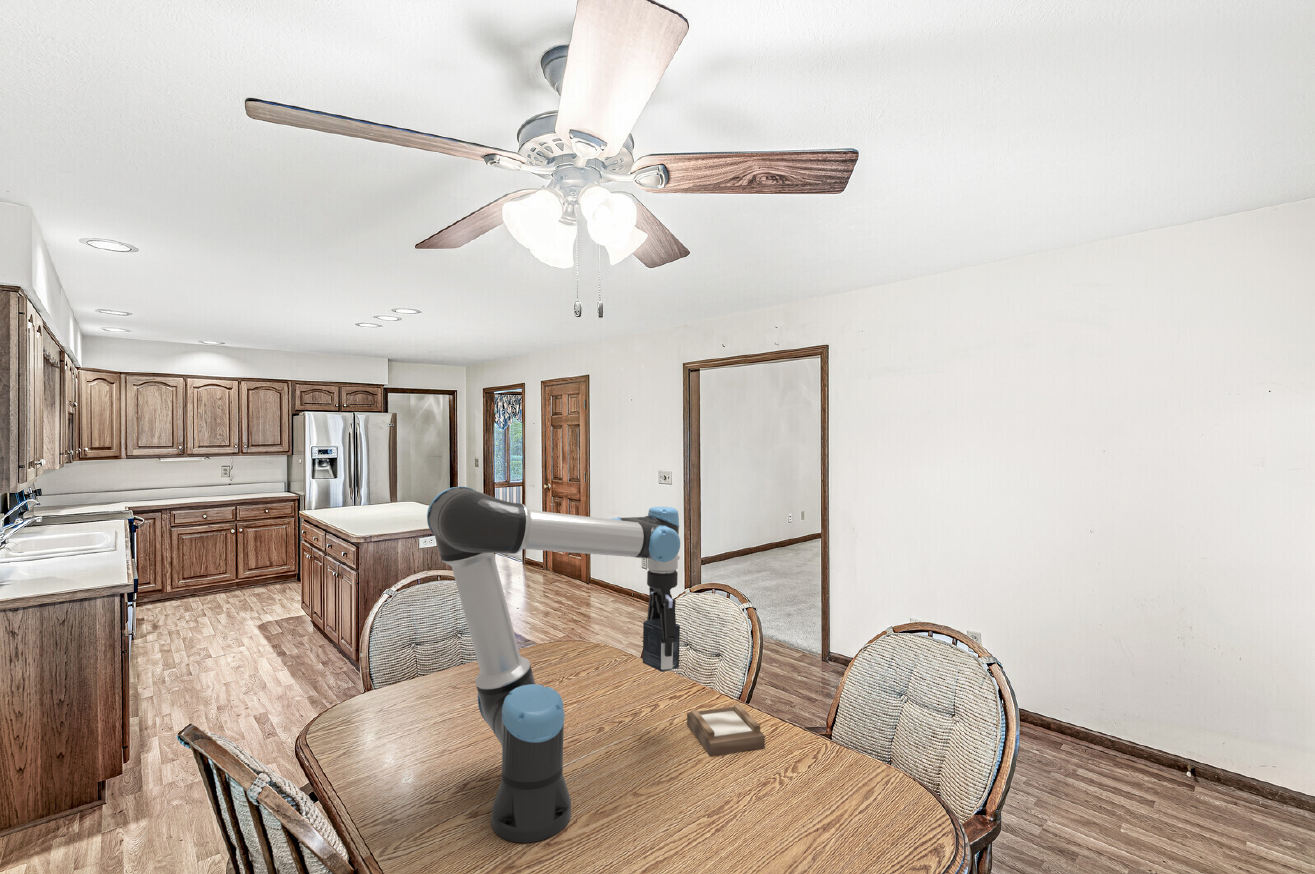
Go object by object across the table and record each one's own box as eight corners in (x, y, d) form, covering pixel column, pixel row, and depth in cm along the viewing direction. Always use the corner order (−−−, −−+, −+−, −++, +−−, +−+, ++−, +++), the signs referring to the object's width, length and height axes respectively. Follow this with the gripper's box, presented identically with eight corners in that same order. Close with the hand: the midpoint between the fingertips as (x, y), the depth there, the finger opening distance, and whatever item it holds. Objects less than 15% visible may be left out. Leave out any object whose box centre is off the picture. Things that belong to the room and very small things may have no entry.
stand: (764, 747, 141) (764, 729, 141) (710, 756, 137) (710, 736, 137) (736, 717, 156) (736, 700, 156) (687, 724, 152) (687, 706, 152)
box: (679, 667, 144) (680, 624, 144) (661, 673, 140) (662, 628, 140) (659, 658, 150) (660, 616, 150) (641, 663, 146) (642, 620, 146)
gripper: (692, 579, 136) (690, 676, 135) (663, 560, 157) (661, 644, 156) (661, 580, 133) (659, 680, 133) (636, 561, 154) (634, 647, 154)
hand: (660, 661), depth 145 cm, fingers closed on box, 9 cm apart
